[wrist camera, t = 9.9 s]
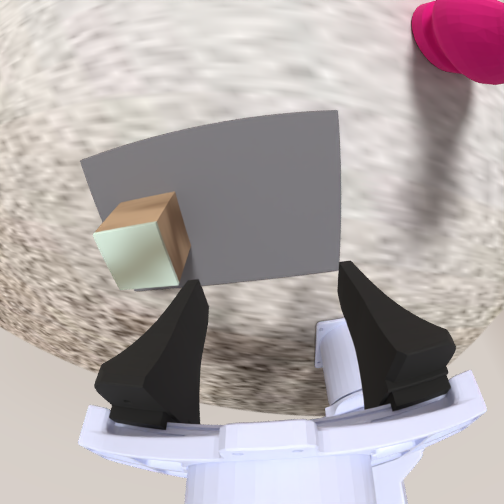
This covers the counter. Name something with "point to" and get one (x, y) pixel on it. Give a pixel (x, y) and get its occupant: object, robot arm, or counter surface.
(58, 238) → the counter surface
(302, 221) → the mat
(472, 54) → the pepper mill
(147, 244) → the cube
